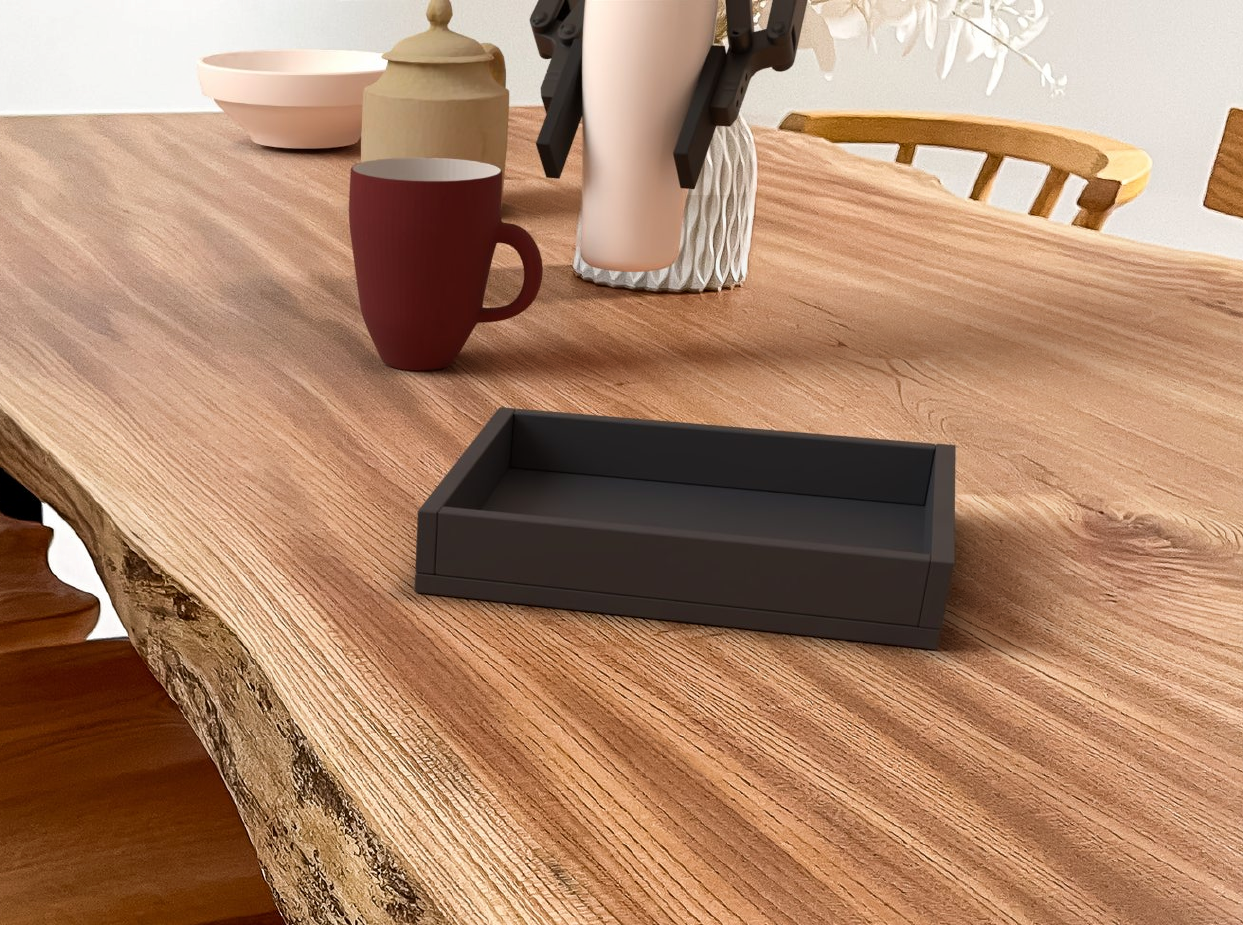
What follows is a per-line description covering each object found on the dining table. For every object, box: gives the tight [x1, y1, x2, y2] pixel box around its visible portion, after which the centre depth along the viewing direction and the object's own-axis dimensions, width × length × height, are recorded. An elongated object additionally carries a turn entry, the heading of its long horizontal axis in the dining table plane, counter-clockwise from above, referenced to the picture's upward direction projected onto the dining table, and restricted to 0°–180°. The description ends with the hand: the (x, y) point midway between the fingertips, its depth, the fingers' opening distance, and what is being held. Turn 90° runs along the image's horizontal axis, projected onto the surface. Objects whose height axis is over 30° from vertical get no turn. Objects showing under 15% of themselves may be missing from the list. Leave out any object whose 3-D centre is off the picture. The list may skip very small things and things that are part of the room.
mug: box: [348, 158, 544, 371], centre depth 102 cm, size 11×8×10 cm
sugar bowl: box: [360, 0, 510, 209], centre depth 144 cm, size 15×11×15 cm
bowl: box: [196, 48, 388, 149], centre depth 172 cm, size 20×20×7 cm
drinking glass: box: [579, 0, 719, 273], centre depth 100 cm, size 7×7×15 cm
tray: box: [413, 406, 957, 650], centre depth 77 cm, size 20×16×3 cm
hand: (615, 165), depth 99 cm, fingers closed on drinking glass, 7 cm apart
